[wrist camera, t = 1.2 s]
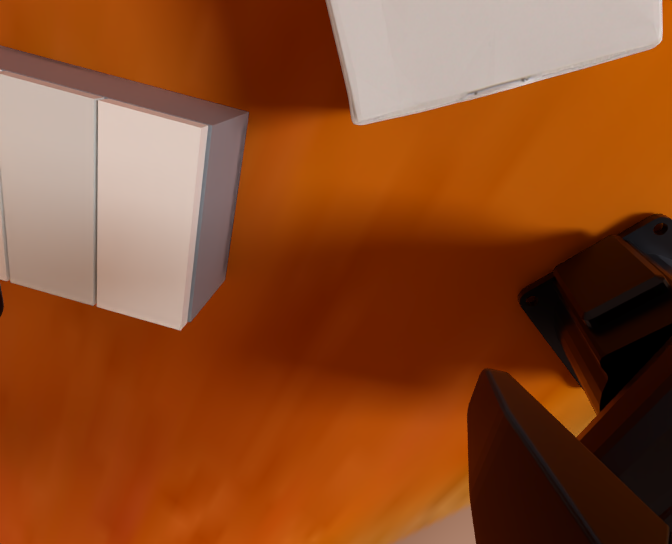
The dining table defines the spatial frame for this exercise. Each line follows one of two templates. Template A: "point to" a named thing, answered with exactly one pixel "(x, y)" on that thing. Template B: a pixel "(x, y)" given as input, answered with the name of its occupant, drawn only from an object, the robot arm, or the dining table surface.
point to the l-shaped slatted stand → (98, 199)
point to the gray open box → (218, 165)
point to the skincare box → (475, 47)
